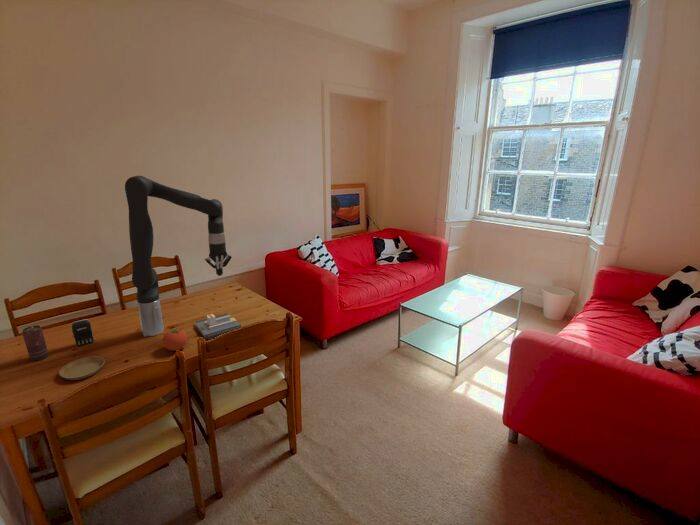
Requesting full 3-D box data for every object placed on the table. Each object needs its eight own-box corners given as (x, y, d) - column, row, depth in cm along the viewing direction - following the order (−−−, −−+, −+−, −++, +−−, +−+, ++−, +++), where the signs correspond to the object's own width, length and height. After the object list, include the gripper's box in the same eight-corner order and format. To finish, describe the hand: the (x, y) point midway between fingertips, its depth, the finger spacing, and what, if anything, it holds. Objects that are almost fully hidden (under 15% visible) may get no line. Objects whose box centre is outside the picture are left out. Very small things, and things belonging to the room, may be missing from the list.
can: (46, 351, 154) (39, 323, 149) (50, 357, 150) (42, 328, 146) (28, 357, 149) (20, 328, 145) (31, 363, 145) (23, 333, 141)
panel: (205, 338, 168) (204, 332, 167) (195, 326, 179) (194, 321, 178) (241, 328, 179) (240, 322, 178) (230, 317, 190) (229, 312, 189)
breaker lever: (210, 327, 174) (209, 317, 172) (207, 324, 177) (206, 314, 175) (216, 325, 176) (215, 316, 174) (213, 322, 179) (212, 313, 177)
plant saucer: (79, 386, 133) (78, 380, 132) (50, 379, 136) (49, 373, 135) (114, 365, 146) (113, 359, 145) (87, 359, 150) (86, 353, 149)
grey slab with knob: (208, 340, 167) (208, 336, 166) (196, 324, 181) (195, 321, 180) (241, 330, 176) (240, 327, 176) (226, 316, 191) (226, 313, 190)
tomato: (172, 357, 152) (169, 337, 149) (159, 350, 157) (156, 330, 154) (193, 347, 160) (191, 327, 157) (180, 340, 165) (177, 321, 162)
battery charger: (76, 348, 157) (70, 325, 154) (75, 344, 160) (70, 322, 156) (95, 343, 162) (90, 320, 158) (94, 339, 164) (89, 317, 161)
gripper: (205, 245, 162) (208, 280, 167) (233, 241, 170) (235, 275, 175) (200, 241, 167) (203, 275, 173) (227, 238, 175) (230, 270, 180)
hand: (219, 275), depth 174 cm, fingers closed
